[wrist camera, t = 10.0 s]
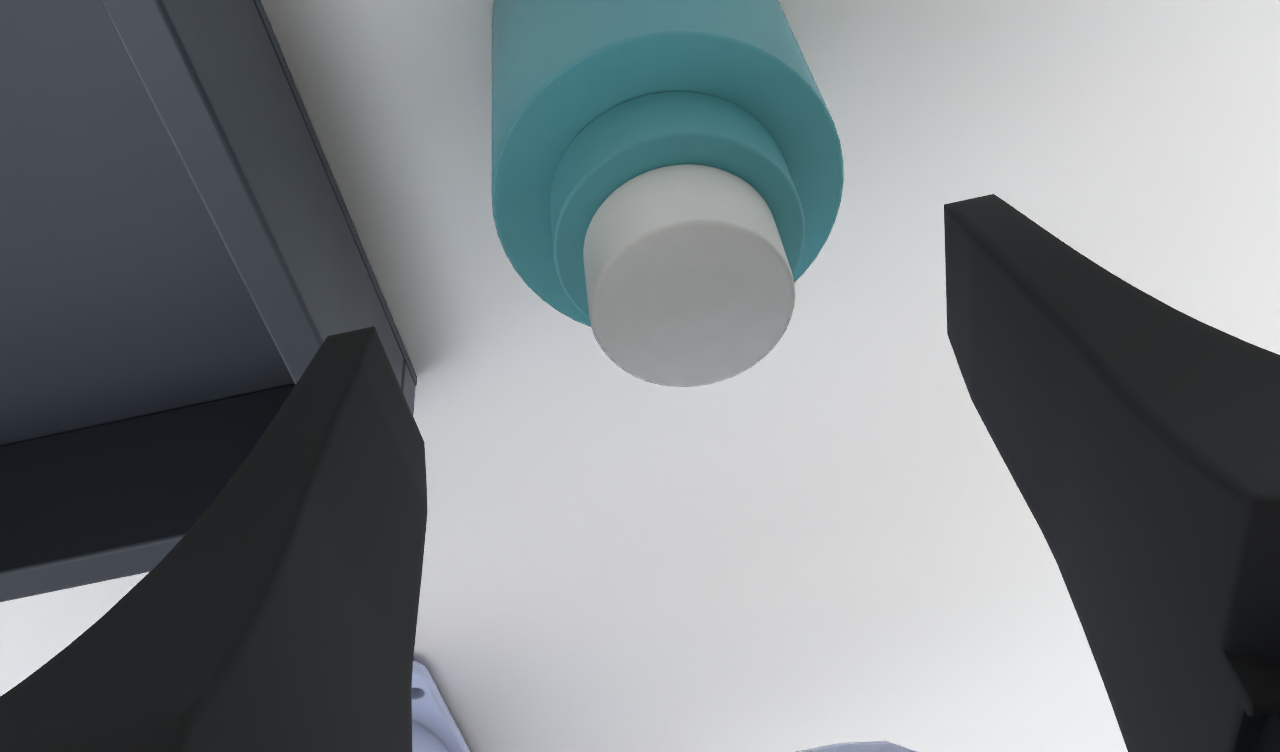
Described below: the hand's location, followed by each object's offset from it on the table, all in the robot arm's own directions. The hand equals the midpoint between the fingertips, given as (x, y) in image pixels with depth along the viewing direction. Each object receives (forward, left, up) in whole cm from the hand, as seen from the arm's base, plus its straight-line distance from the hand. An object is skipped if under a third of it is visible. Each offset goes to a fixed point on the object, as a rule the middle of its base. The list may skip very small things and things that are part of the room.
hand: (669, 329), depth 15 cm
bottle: (0, 0, -9) cm, 9 cm away
